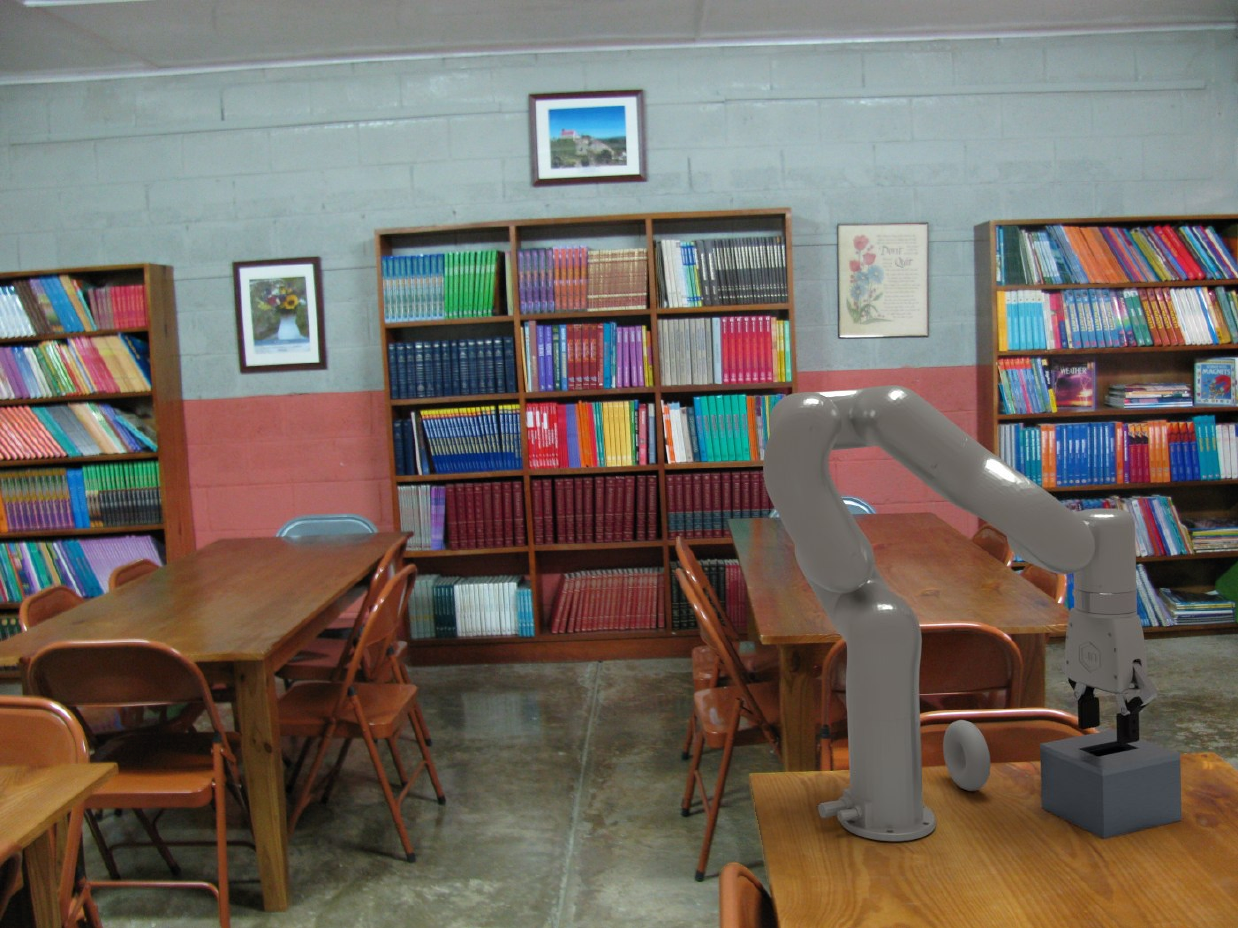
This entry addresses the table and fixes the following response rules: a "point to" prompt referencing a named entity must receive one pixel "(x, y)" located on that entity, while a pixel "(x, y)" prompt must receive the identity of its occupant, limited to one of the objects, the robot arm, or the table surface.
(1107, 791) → the box
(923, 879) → the table surface
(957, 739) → the donut
